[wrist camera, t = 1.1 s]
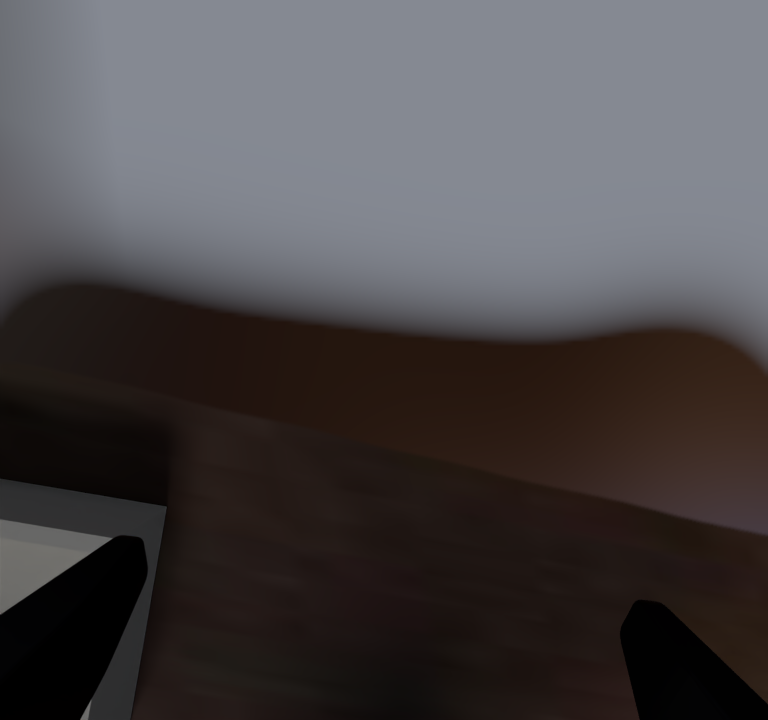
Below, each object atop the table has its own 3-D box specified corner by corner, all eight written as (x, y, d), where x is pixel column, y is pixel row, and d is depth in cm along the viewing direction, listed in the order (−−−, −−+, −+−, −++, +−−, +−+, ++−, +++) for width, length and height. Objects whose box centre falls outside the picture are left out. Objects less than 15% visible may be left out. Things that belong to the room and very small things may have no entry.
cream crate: (130, 720, 24) (73, 801, 20) (-85, 685, 24) (-190, 758, 20) (167, 506, 24) (119, 539, 20) (-48, 470, 24) (-145, 494, 20)
